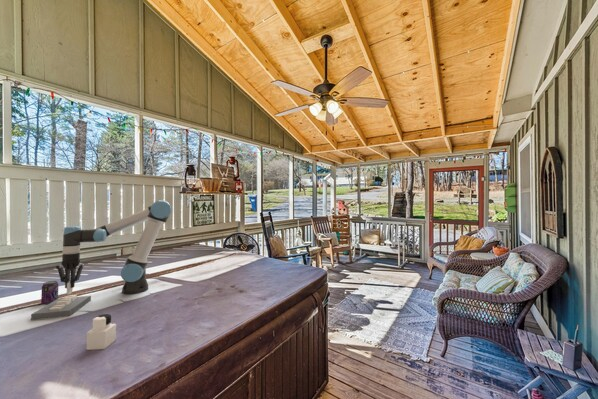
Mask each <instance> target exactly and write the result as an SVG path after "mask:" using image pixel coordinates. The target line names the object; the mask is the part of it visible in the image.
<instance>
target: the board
mask: <svg viewBox="0 0 598 399" xmlns="http://www.w3.org/2000/svg"><path fill="white" fill-rule="evenodd" d="M63 298H64V297H62V298H60V297H58V299H57V300H55V301H53V302H52V303H50V304H45V306H43V307H41V308H39V309H38V310H36V311H35V312H33V313H31V315H30V321H36V320H44V319H54V318H55V319H56V318H64V317H70V316H72V315H74V314H75V313H76V312H77V311H79V310H80V309H81V308H83V307H84V306H86V305H87V304H89V303H90V302H91V301H92V295H84V296H77V299H76V300H74V301H71V303H70V304H68V305H65V307H63V308H62V309H60V310H52V311H49V309H50V308H51V307H53V306H55V305H57V302H58V301H60V300H62V299H63Z"/></svg>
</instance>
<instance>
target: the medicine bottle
mask: <svg viewBox="0 0 598 399" xmlns="http://www.w3.org/2000/svg"><path fill="white" fill-rule="evenodd" d="M116 339H117V323H112V314H109V313H103V314H99V315H96V316H95V317H93V319H92V328H91V329H90V330H88V331H87V332H86V344H85V345H86V348H85V349H86V350H87V351H90V350H91V351H92V350H94V351H95V350H105V349H106V348H107V347H109V346H110V345H111V344H113V343H114V342H115V341H116Z"/></svg>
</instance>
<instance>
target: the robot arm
mask: <svg viewBox="0 0 598 399" xmlns="http://www.w3.org/2000/svg"><path fill="white" fill-rule="evenodd" d="M172 211H173V210H172V205H171V204H170V203H169V202H168V201H167V200H163V199H159V200H156V201H155V202H153V203H152V204H151V205H150V206H147V208H145V209H143V210H140V211H138V212H135V213H133V214H130V215H128V216H125V217H122V218H119V219H117V220H114V221H112V222H109V223H107V224H105V225H102V226H100V227H97V228H94V229H82V227H81V225H79V226H78V225H75V226H74V225H73V226H71V225H70V226H65V227H64V229H63V234H62V236H63V237H62V240H63V241H62V255H61V256H62V258H61V259H62V260H61V263H60V264H58V265H56V266H55V268H56V269H57V271H58V275H59V279H60V282H61V283H64V288H65V289H66V295H71V294H72V293H73V290H74V288H75V282H77V281H79V280H80V277H81V274H82V270H83V268H84V267H85V266H86V264H85V263H81V260H80V259H81V258H80V256H81V253H80V252H81V243H95V242H96V243H100V242H105V241H106V239H107V238H108V237H110V236H111V235H112V236H113V235H115V234H118V233H120V232H123V231H125V230H127V229H129V228H132V227H135V226H137V225H141V224H142V223H144V222H147V223H146V224H145V227H144V229H143V231H142V233H141V235H140V238H139V239H138V243H137V244H136V246H135V248H134V250H133V252H132V254H131V255H130V256H128V257H126V258H125V263H124V265H123V267H122V268H121V270H120V278H121V279H122V280H123V281H124V284H123V285H122V288H121V293H122V294H124V295H130V294H131V295H133V294H138V293H143V292H145V290H146V291H148V290H149V283H148V280H147V277H146V275H147V273H146V272H147V270H146V269H147V268H146V267H147V266H148V263H149V261H148V257H149V256H150V252H151V250H152V248H153V247H154V243H155V241H156V240H157V237H158V235H159V233H160V230H161V228H162V226H163V224H166V223H167V221H168V218H169V217H170V214H172ZM77 267H78V268H77ZM142 291H143V292H142Z"/></svg>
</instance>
